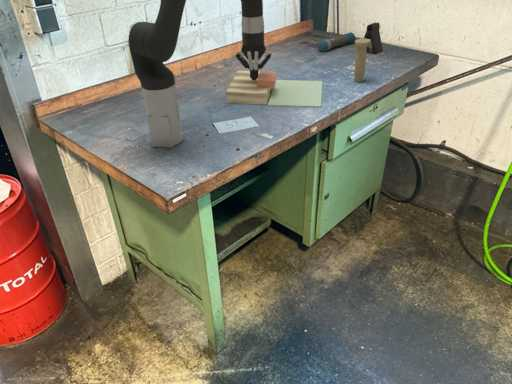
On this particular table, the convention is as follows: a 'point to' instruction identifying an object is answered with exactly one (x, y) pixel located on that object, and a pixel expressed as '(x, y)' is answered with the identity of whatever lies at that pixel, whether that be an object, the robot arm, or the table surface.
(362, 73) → the handle
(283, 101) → the mat
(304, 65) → the table surface
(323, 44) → the flashlight
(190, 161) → the table surface
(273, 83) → the salmon orange block
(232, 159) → the table surface
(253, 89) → the deck
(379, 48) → the phone stand
